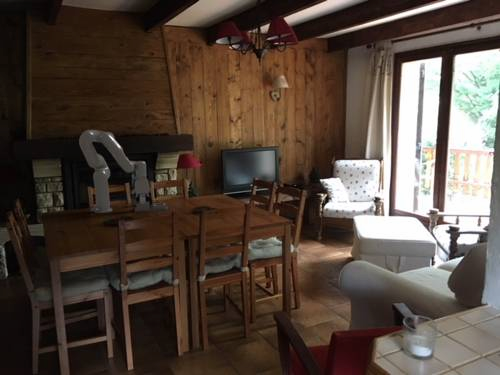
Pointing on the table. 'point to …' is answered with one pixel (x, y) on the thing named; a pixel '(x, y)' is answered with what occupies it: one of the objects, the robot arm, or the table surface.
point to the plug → (142, 198)
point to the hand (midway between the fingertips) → (142, 201)
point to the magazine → (146, 198)
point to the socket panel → (145, 207)
